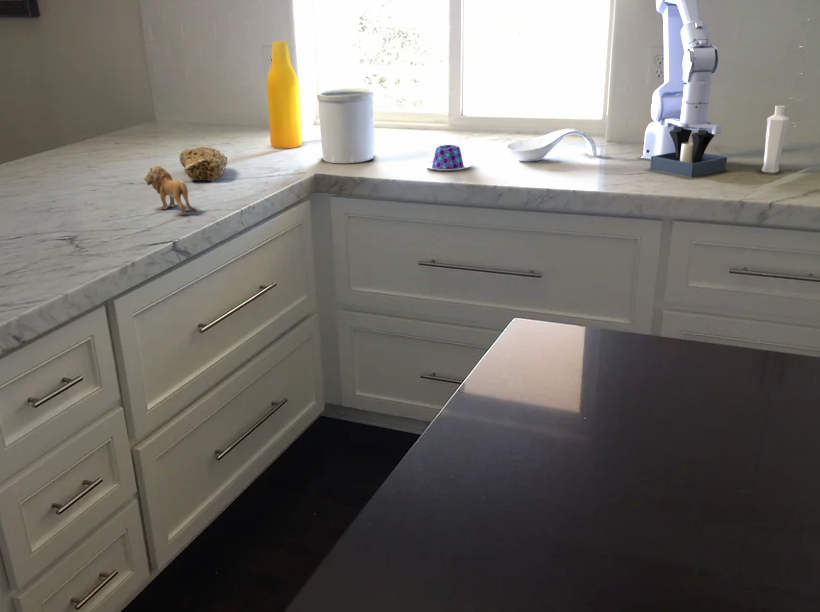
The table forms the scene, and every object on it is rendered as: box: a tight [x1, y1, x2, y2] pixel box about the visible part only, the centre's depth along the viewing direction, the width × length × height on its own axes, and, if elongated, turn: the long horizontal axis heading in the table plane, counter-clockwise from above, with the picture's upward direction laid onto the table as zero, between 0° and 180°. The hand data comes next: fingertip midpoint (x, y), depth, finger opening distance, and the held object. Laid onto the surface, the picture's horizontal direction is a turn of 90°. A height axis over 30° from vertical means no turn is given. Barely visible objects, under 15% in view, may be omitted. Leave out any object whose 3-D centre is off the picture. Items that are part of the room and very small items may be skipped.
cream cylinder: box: [680, 141, 693, 163], centre depth 204 cm, size 4×4×6 cm
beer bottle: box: [266, 40, 303, 150], centre depth 249 cm, size 9×9×29 cm
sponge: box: [179, 146, 228, 182], centre depth 220 cm, size 13×8×20 cm
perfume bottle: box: [761, 105, 790, 174], centre depth 199 cm, size 5×4×15 cm
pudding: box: [423, 144, 473, 172], centre depth 218 cm, size 12×12×5 cm
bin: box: [649, 152, 728, 178], centre depth 205 cm, size 12×12×3 cm
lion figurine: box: [143, 165, 198, 216], centre depth 186 cm, size 15×5×9 cm, turn 50°
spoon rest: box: [504, 127, 598, 163], centre depth 224 cm, size 24×12×7 cm, turn 98°
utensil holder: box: [316, 88, 375, 164], centre depth 230 cm, size 15×15×18 cm
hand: (688, 161), depth 205 cm, fingers closed on cream cylinder, 4 cm apart
